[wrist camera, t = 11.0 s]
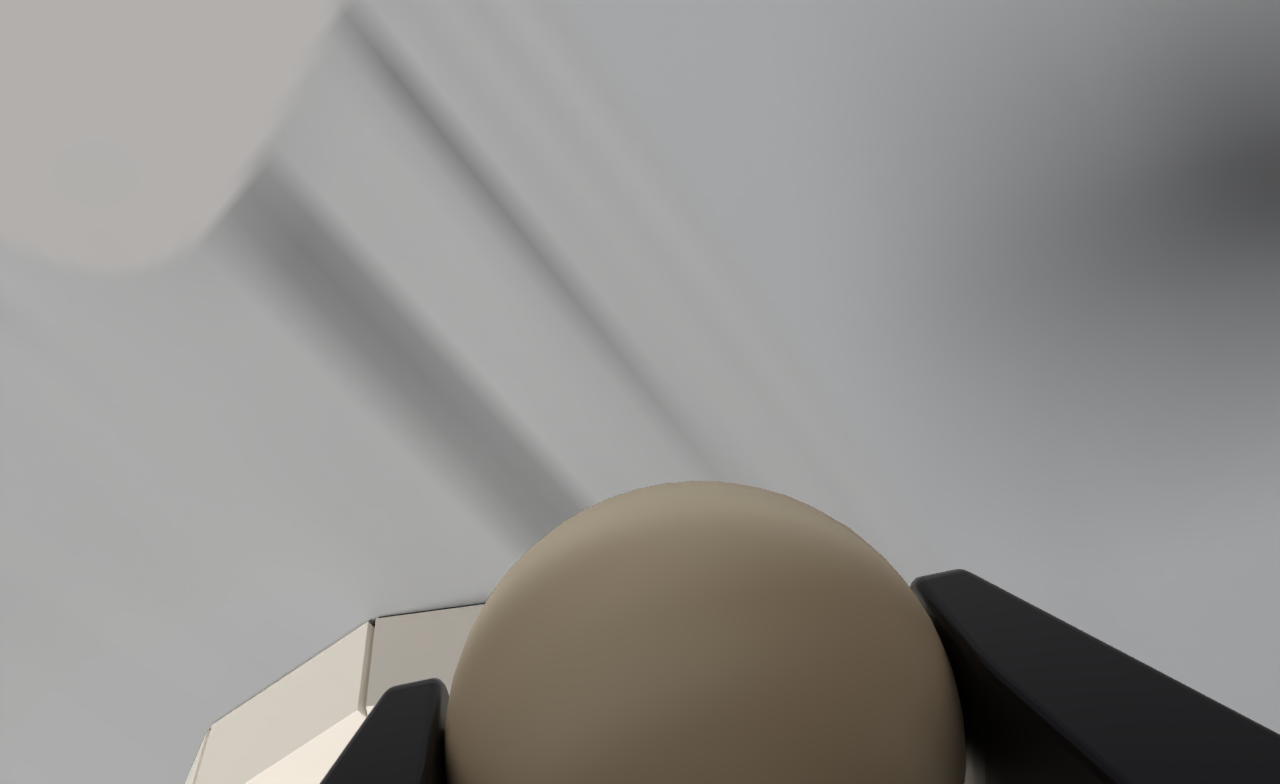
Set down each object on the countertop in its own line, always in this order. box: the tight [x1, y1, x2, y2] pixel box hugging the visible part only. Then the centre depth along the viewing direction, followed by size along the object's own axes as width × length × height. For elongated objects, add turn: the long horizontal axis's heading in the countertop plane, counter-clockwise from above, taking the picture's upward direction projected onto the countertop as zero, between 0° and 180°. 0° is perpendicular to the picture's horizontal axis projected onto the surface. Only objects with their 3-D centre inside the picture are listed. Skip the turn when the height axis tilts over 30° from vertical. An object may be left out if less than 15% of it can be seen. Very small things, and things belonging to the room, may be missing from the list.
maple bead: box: [444, 481, 966, 784], centre depth 8 cm, size 4×4×4 cm
